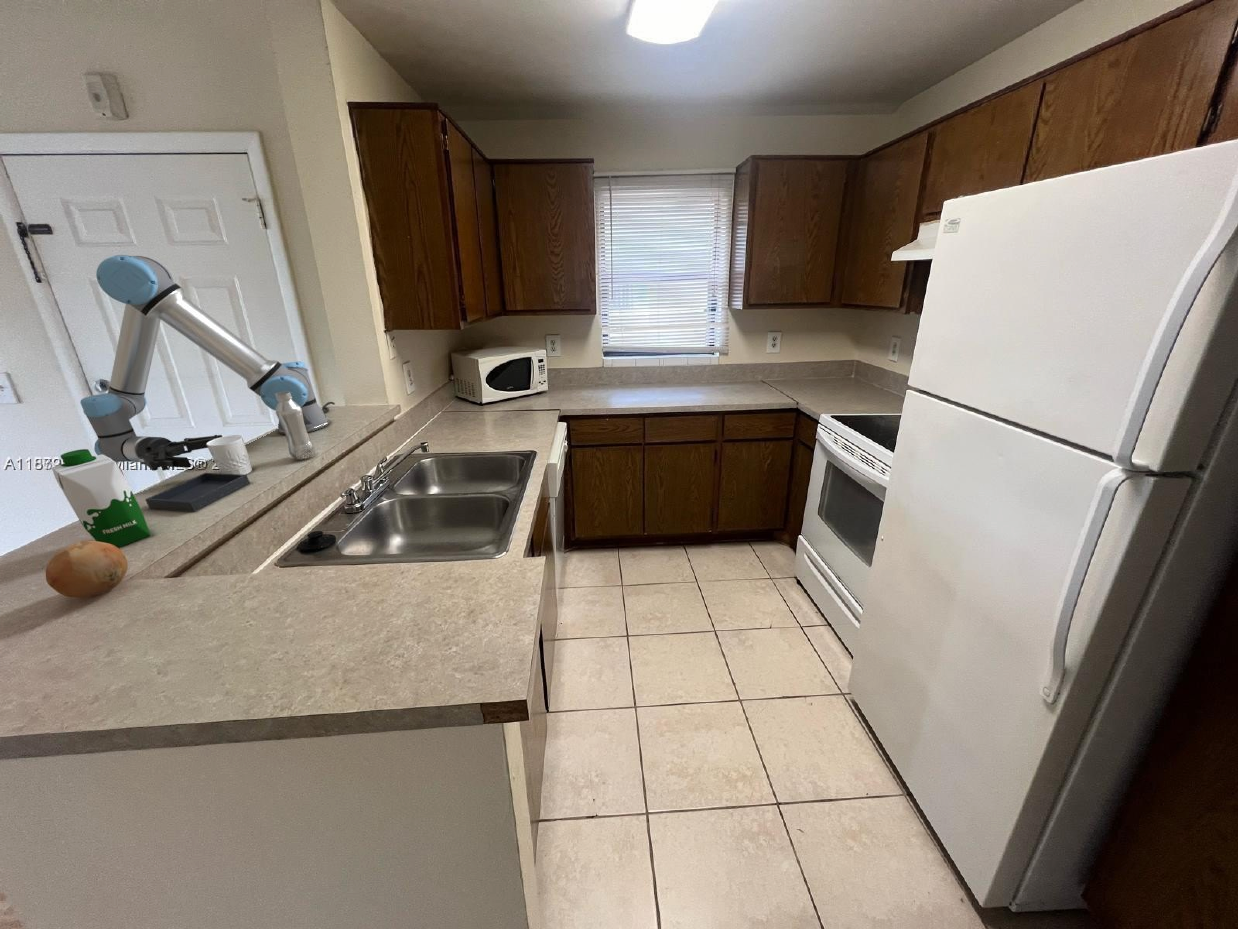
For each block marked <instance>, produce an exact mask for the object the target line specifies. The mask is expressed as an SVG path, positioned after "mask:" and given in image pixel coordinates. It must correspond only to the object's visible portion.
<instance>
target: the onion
mask: <svg viewBox="0 0 1238 929" xmlns="http://www.w3.org/2000/svg"><path fill="white" fill-rule="evenodd" d="M128 565H129V564H128V559H127V557H126V555H125V553H124V552H123V551H122V550H121V549H120V547H119V548H117V547H116V546H114V545H112V544H109V543H104V542H98V541H96V540H80V541H77V542H75V543H72V544H70V545H68V546H66V547H64V548H63V549H61V550H60V551H58V552H57V553H55V554H54V555H53V556H52V558H50V560H49V561H48V563H47V565H46V568H45V582H46V583H47V585H48V586H49V587H50V588H52V589H53V590H54V591H55V592H57V593H58V594H60V595H61V596H64V597H66V598H70V599H71V598H72V599H74V598H75V599H85V598H92V597H97V596H100V595H102V594H104V593H106V592H109V591H110V590H112V589H114V588H116V587H117V586H118V585H119V584H120V583H121V582H122V581H123V579H124V577H125V576H126V574H127V571H128Z"/></svg>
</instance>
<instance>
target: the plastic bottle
mask: <svg viewBox="0 0 1238 929" xmlns="http://www.w3.org/2000/svg"><path fill="white" fill-rule="evenodd" d="M275 395H276V398H277V401H278V402H279V403H278V405H277V407H276V411H275V415H276V417H277V419H278V422H279V421H280V423H281V425H282V427H283V429H284V431H285V434H284V435H285V436H286V440H287V441H286V442H287V446H288V447H287V448H288V453H289V455H290V457H291V458H293V459H294V460H297V461H298V460H300V461H301V460H306V459H309V458H311V457H313V456H314V455H315V454H316V453H315V452H316V449H315V445H314V443H313V441H312V440H311V439H310V436H309V434H308V433H307V431H306V428H305V424H304V420H303V414H302V409H301V407H300V406H299V405H298V404H297V403H296V402H294V401H293V400H292V396H291V393H290V392H289V391H284V392H279V393H276V394H275Z"/></svg>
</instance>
